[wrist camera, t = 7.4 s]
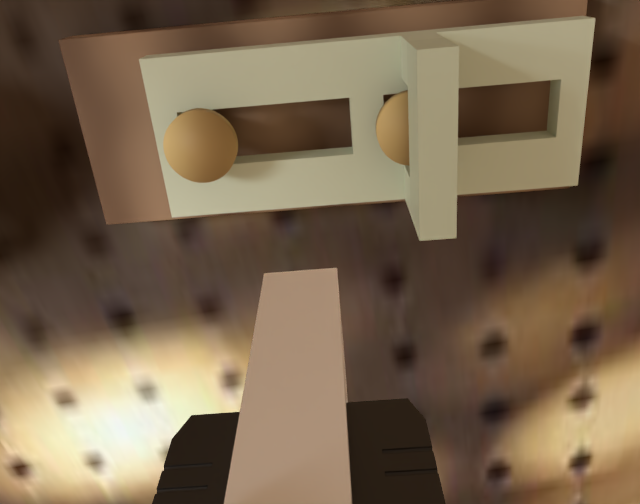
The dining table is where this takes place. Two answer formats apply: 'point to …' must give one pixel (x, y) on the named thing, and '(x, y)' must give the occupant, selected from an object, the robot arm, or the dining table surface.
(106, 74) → the rail
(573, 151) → the panel
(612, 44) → the dining table surface
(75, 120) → the dining table surface
